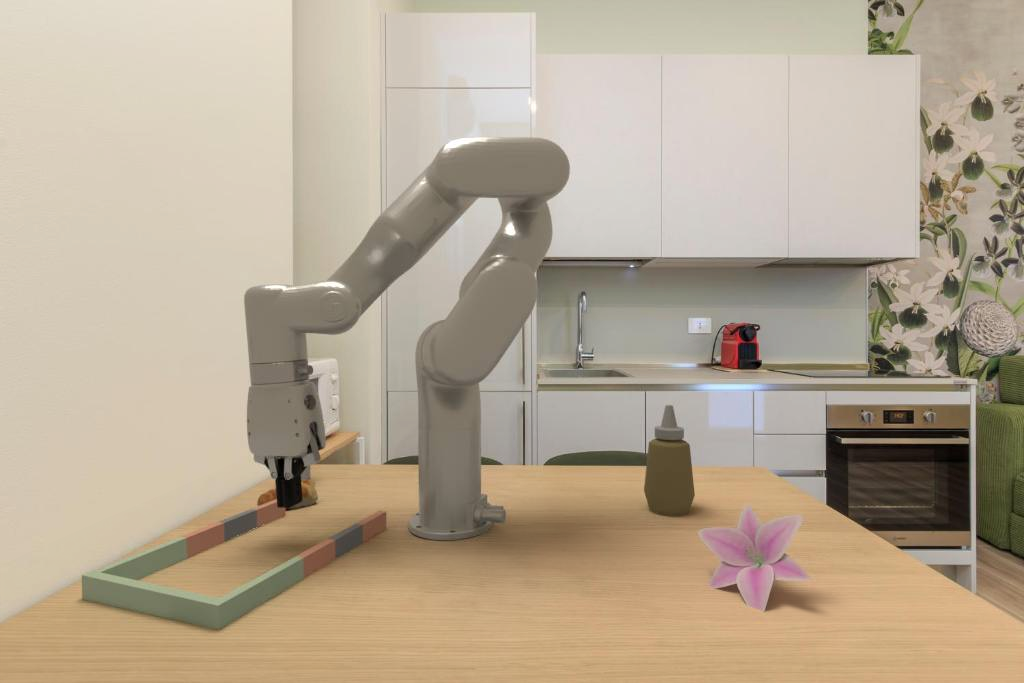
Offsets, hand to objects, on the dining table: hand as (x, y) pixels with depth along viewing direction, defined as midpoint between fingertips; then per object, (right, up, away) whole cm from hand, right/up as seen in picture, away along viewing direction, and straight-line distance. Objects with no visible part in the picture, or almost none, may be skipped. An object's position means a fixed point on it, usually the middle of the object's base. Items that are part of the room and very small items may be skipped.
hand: (290, 504), depth 77 cm
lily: (+60, -7, -13) cm, 62 cm away
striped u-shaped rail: (-3, -6, -4) cm, 8 cm away
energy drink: (-12, -6, +32) cm, 35 cm away
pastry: (-11, -7, +19) cm, 23 cm away
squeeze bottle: (+57, -6, +13) cm, 59 cm away
